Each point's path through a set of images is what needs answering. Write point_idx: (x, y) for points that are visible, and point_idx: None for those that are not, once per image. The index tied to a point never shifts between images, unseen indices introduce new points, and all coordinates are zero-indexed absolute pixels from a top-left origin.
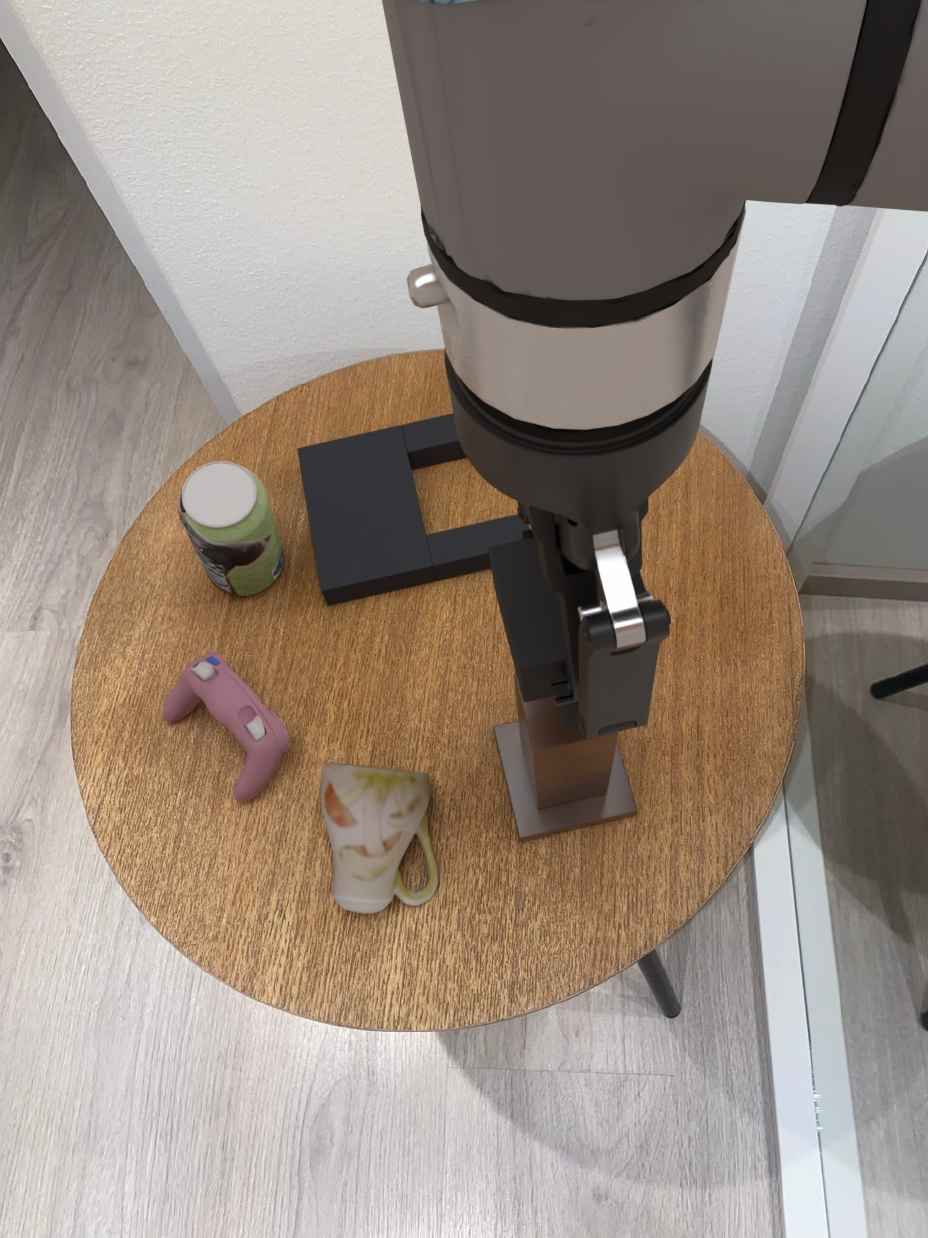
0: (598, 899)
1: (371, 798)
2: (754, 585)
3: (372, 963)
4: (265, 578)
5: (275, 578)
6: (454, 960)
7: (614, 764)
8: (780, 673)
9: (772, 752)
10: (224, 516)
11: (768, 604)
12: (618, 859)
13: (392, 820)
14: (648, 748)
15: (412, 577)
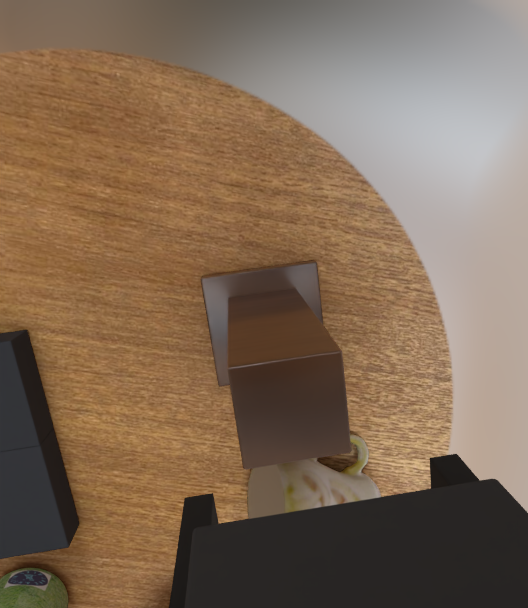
0: (382, 303)
1: None
2: (65, 85)
3: (403, 480)
4: (52, 594)
5: (50, 575)
6: (411, 421)
7: (268, 277)
8: (178, 81)
9: (266, 111)
10: None
11: (91, 74)
12: (351, 281)
13: (326, 504)
14: (250, 238)
15: (51, 458)
